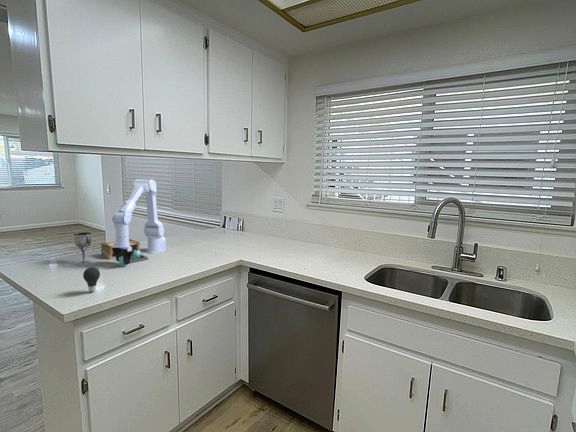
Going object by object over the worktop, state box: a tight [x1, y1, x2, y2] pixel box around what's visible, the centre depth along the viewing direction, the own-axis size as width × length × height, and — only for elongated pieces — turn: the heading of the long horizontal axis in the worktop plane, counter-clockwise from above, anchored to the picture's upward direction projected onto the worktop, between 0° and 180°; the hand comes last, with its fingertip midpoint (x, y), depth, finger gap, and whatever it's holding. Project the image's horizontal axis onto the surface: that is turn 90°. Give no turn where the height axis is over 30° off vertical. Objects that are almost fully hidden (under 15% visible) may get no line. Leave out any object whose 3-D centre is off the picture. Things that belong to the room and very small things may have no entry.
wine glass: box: [72, 231, 93, 265], centre depth 159 cm, size 8×8×15 cm
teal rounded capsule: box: [118, 256, 127, 267], centre depth 158 cm, size 4×4×4 cm
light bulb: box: [82, 266, 101, 293], centre depth 124 cm, size 6×6×10 cm
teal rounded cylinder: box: [132, 249, 141, 260], centre depth 170 cm, size 4×4×4 cm
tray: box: [128, 253, 149, 265], centre depth 168 cm, size 11×11×2 cm
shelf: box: [100, 238, 141, 260], centre depth 175 cm, size 16×10×7 cm, turn 143°
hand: (123, 262), depth 158 cm, fingers open, 7 cm apart
